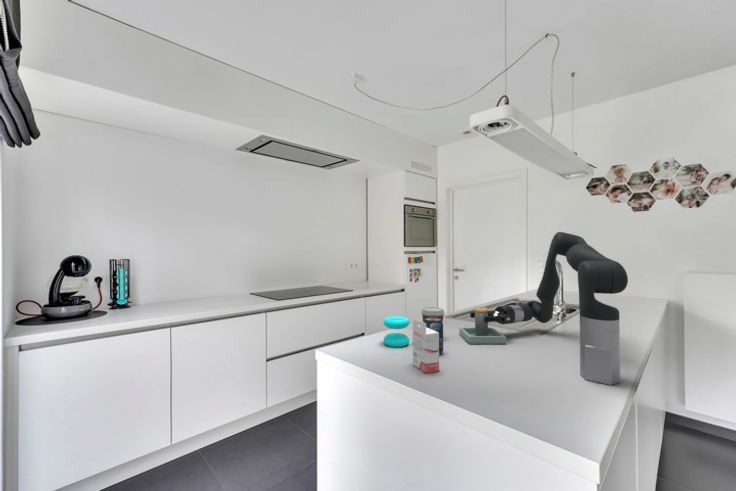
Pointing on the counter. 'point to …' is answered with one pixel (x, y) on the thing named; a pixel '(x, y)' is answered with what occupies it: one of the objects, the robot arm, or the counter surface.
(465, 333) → the bin
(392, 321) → the donuts
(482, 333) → the battery
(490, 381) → the counter surface
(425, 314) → the disposable coffee cup
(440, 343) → the soda can
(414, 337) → the ink cartridge box
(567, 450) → the counter surface
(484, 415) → the counter surface
